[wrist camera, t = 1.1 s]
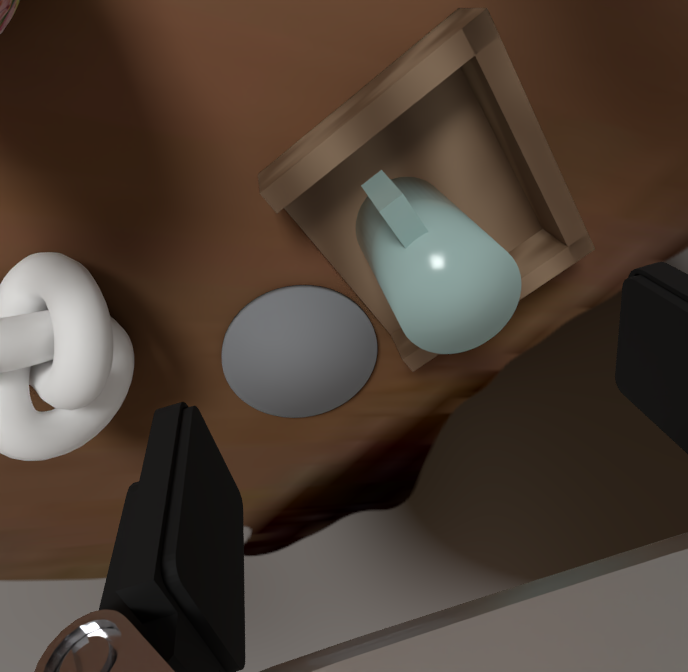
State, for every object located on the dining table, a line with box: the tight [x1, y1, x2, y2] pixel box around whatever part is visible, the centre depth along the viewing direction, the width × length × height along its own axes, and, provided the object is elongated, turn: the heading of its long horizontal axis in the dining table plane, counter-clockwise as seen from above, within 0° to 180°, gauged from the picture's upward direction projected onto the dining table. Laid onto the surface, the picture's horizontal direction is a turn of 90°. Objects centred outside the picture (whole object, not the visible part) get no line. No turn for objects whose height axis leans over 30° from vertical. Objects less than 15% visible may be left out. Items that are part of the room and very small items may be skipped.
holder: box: [258, 8, 595, 372], centre depth 33 cm, size 15×17×4 cm
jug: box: [356, 170, 521, 354], centre depth 30 cm, size 6×9×11 cm
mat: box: [222, 285, 377, 418], centre depth 40 cm, size 12×12×1 cm
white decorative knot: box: [0, 252, 134, 461], centre depth 31 cm, size 11×12×9 cm
